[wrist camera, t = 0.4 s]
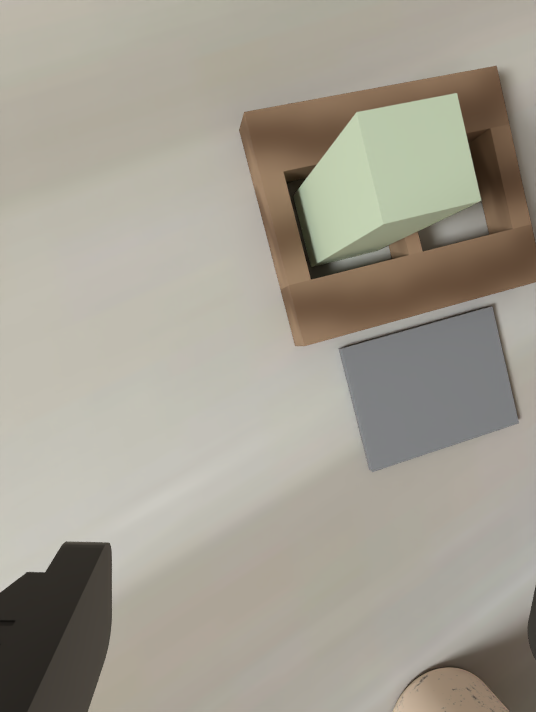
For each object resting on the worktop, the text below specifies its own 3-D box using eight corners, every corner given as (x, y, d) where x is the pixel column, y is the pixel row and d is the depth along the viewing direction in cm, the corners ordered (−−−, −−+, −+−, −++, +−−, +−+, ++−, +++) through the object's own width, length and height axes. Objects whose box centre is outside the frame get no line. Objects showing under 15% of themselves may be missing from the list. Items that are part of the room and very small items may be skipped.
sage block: (292, 196, 33) (356, 112, 21) (359, 181, 34) (456, 92, 22) (310, 267, 33) (383, 224, 21) (376, 250, 34) (481, 200, 22)
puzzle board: (239, 130, 32) (244, 112, 29) (474, 85, 35) (496, 65, 32) (295, 346, 33) (304, 346, 30) (518, 284, 36) (543, 279, 34)
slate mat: (338, 348, 33) (341, 348, 33) (487, 306, 36) (492, 306, 35) (369, 469, 34) (372, 471, 34) (513, 421, 36) (518, 423, 36)
